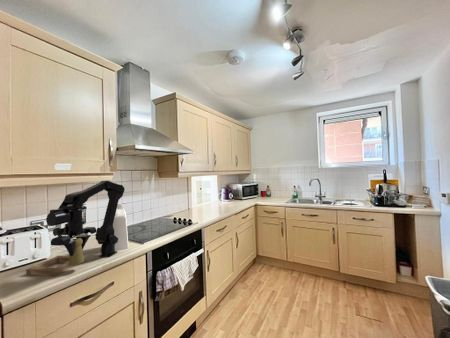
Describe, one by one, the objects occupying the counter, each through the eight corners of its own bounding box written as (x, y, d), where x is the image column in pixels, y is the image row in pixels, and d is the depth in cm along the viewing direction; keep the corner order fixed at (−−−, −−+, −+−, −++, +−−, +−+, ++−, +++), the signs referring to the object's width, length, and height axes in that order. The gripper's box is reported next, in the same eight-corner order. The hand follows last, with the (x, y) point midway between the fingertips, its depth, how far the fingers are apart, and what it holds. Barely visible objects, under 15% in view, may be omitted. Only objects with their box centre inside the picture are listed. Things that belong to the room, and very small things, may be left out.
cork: (87, 259, 96) (86, 236, 96) (78, 265, 90) (77, 240, 90) (74, 260, 96) (73, 237, 96) (64, 265, 90) (64, 241, 90)
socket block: (58, 260, 105) (58, 255, 105) (83, 261, 103) (83, 256, 103) (26, 274, 90) (26, 269, 90) (54, 276, 88) (54, 270, 88)
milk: (128, 242, 129) (126, 202, 130) (127, 248, 119) (126, 204, 119) (106, 245, 124) (105, 204, 125) (104, 252, 114) (103, 206, 114)
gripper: (77, 216, 103) (78, 246, 103) (39, 225, 85) (40, 262, 85) (96, 215, 102) (97, 246, 102) (61, 225, 83) (62, 263, 83)
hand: (76, 253), depth 93 cm, fingers closed on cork, 4 cm apart
